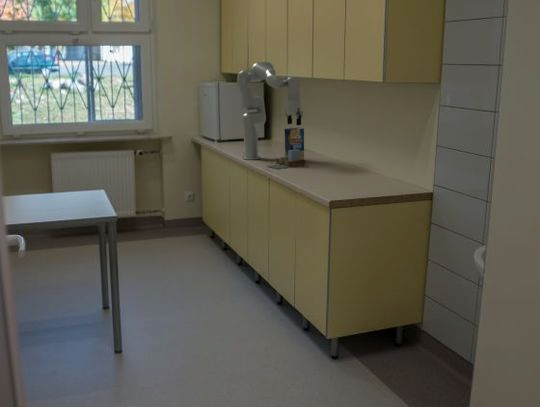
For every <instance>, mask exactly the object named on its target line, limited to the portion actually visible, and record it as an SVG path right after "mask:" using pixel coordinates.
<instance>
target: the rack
mask: <svg viewBox="0 0 540 407" xmlns="http://www.w3.org/2000/svg"><path fill="white" fill-rule="evenodd" d="M278 164H279V165H283V166H286V167H289V168H297V167H296V166H298V167H302V166H303V167H304V165H305V166H306V160H305V159H304V160H303V159H300V160H299V161H292V162H291V161H286V160H282V159H280V158H275V165H278Z"/></svg>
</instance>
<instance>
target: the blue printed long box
mask: <svg viewBox="0 0 540 407" xmlns="http://www.w3.org/2000/svg"><path fill="white" fill-rule="evenodd" d="M296 149H298V150H300V159H303V160H305V129H304V127H290V128H284V157H288V150H296Z"/></svg>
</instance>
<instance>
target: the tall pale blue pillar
mask: <svg viewBox="0 0 540 407" xmlns="http://www.w3.org/2000/svg"><path fill="white" fill-rule="evenodd" d="M299 160H300V150H298V149H296V150H288V161H291V162H292V161H299Z"/></svg>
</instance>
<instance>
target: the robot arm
mask: <svg viewBox="0 0 540 407" xmlns="http://www.w3.org/2000/svg"><path fill="white" fill-rule="evenodd" d="M276 74H277V73H276V70H275V69H274V65H273V64H272V63H271V62H270V61H259V62H254V63H253V65H252V68H248V69H243V70H240V71H239V72H238V73H237V77H236V81H237V86H238V88H239V89H238V90H239V94H240V101H241V106H242V109H243V110H245V111H248V112H245V113H243V115H241V116H242V117H241V122H242V123H241V124H242V127H243V143H244V144H243V145H244V147H243V149H244V151H243V156H242V158H241V159H243V160H251V161H252V160H259V159H261V158H262V157H261V155H259V133H258V130H257V128H256V127H258V126H262V125H265V123H266V121H267V114H266V107H265V101H264V98H263V97H262V96H261V95H254V93H253V92H254V91H253V88H252V86H251V85H250V83H258V82H259V83H260V82H262V81H264V80H265V82H266V84H267V85H268V86H269V87H271V88H273V89H276V90H283V89H287V99H286V108H285V116H286V118H287V120H286V122H287V125H292V124H293V116H296V126H301V125H302V118H303V114H304V111H303V110H302V106H301V100H300V99H301V95H300V93H301V88H300V77H299V76H290V75H289V76H288V75H287V76H277V75H276Z"/></svg>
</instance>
